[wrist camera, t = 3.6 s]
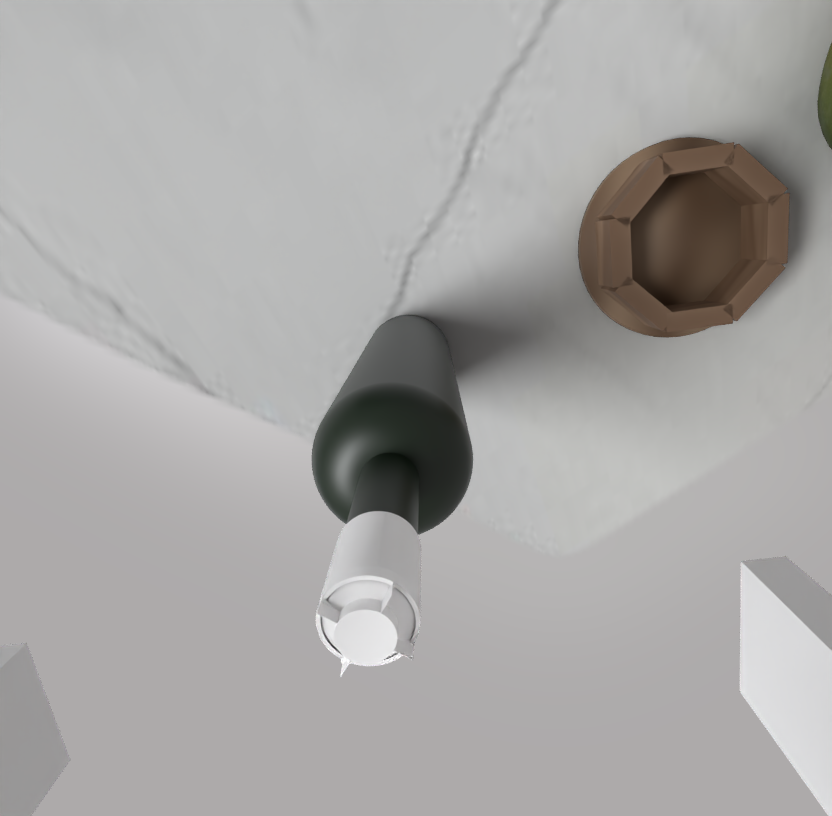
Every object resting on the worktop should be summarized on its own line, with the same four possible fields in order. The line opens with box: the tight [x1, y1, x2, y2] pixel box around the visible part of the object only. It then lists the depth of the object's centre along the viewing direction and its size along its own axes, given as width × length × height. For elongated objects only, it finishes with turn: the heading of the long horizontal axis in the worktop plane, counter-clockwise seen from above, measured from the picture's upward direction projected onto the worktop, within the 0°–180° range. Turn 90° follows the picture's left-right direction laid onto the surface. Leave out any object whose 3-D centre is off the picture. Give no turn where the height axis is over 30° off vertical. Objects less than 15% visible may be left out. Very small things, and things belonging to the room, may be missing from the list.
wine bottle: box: [312, 315, 473, 677], centre depth 26 cm, size 6×6×30 cm
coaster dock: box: [578, 137, 790, 337], centre depth 36 cm, size 12×12×4 cm
